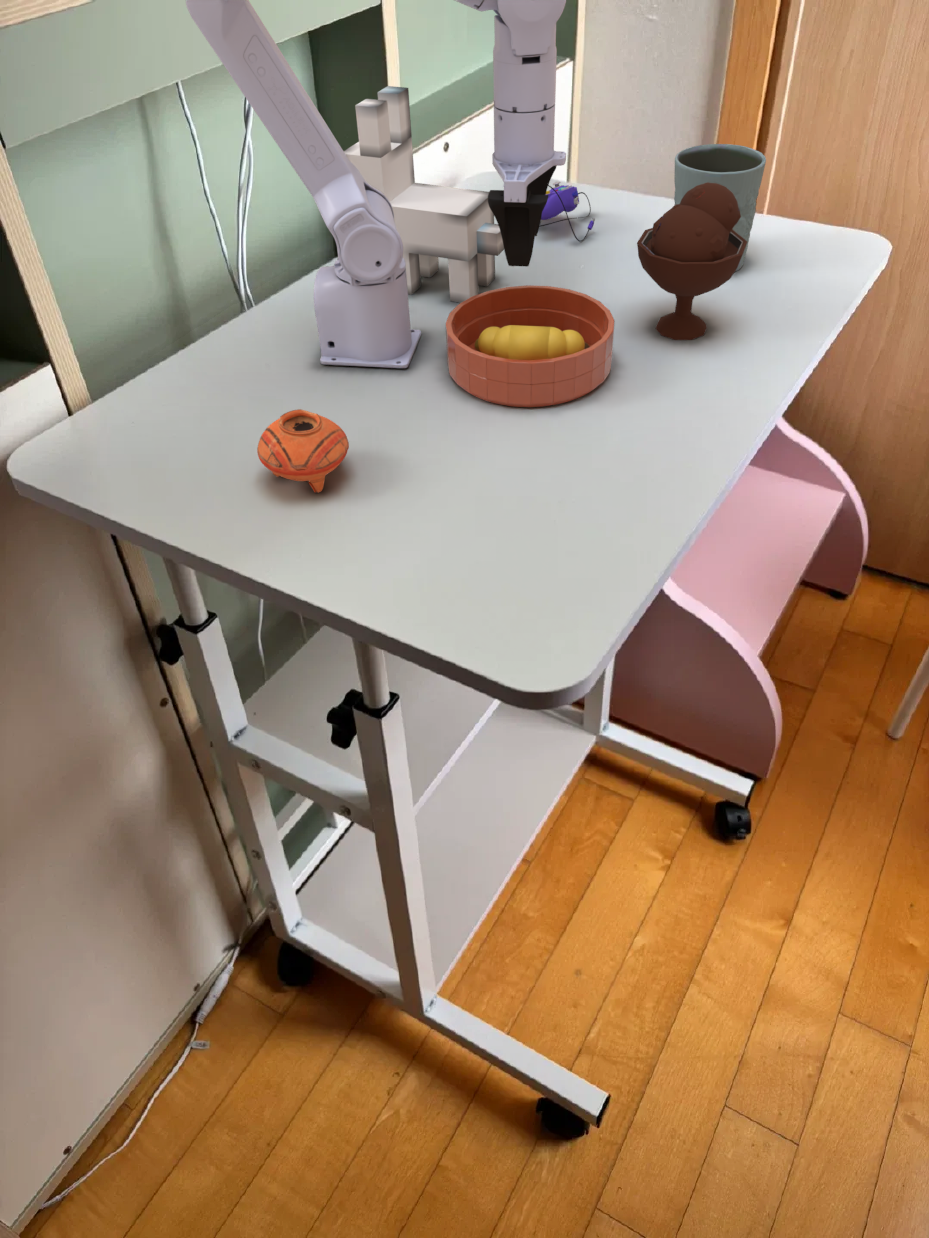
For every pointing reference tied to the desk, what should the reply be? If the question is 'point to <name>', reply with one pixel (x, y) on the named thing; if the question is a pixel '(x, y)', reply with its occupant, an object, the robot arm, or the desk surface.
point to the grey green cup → (723, 177)
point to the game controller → (563, 203)
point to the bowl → (529, 377)
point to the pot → (303, 447)
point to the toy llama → (424, 201)
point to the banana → (529, 342)
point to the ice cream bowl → (692, 253)
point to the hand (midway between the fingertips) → (523, 249)
